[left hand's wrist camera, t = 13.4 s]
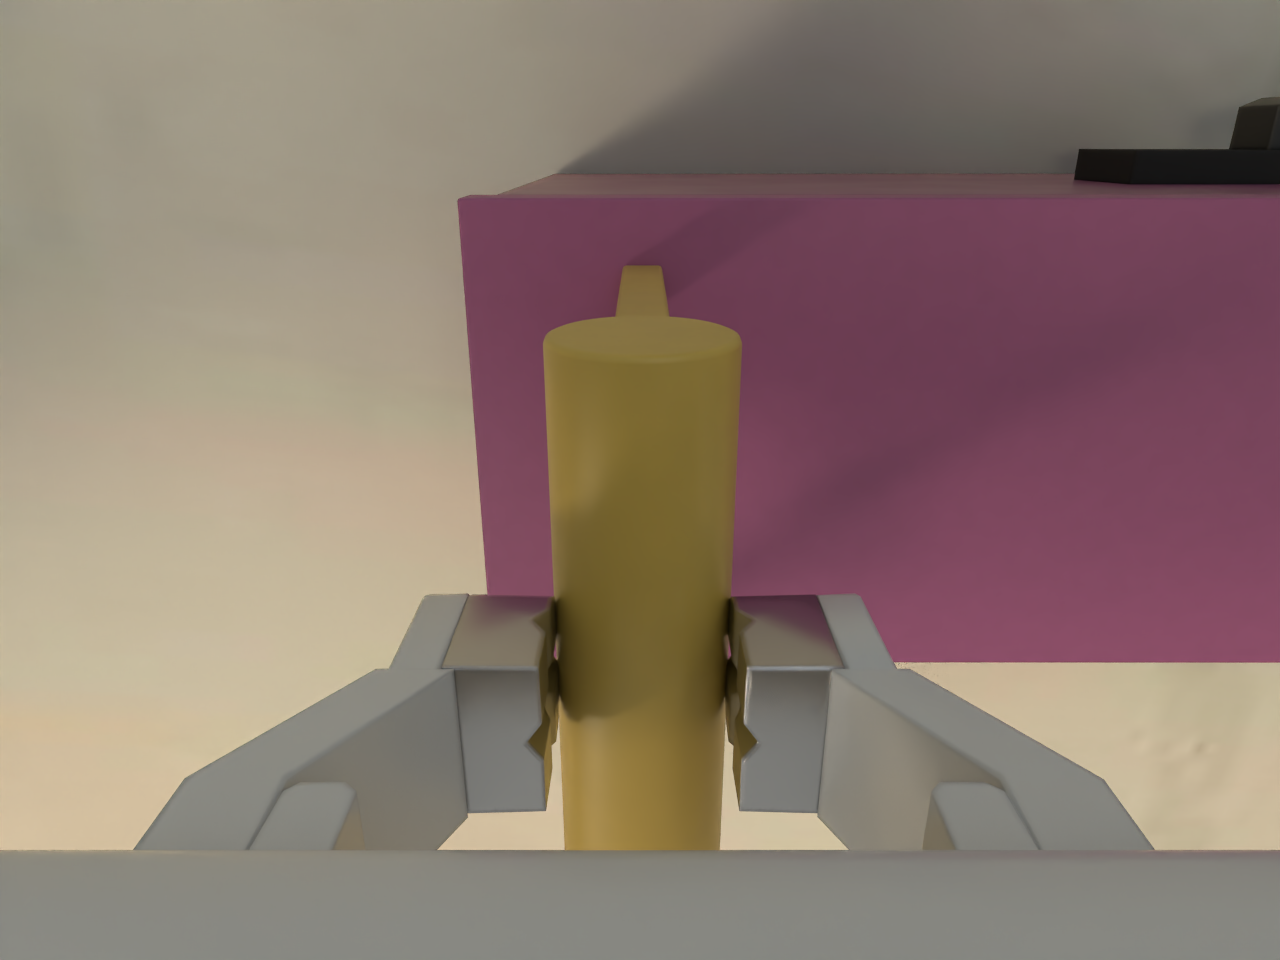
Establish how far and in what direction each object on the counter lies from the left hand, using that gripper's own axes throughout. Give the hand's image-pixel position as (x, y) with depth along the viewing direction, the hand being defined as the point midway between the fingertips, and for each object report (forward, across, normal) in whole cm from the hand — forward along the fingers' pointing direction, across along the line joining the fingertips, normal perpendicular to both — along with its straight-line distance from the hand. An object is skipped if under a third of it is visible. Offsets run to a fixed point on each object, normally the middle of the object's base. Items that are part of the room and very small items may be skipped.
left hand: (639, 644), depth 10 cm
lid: (+8, -6, 0) cm, 10 cm away
